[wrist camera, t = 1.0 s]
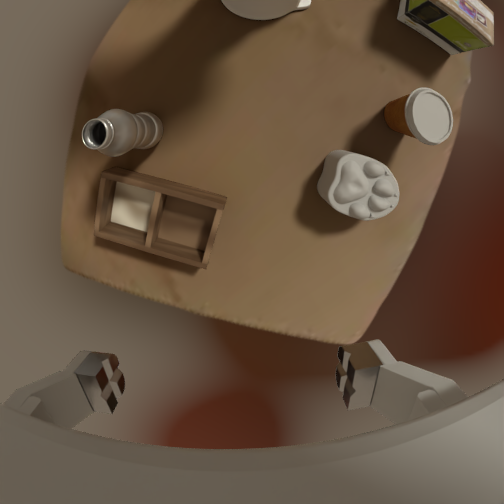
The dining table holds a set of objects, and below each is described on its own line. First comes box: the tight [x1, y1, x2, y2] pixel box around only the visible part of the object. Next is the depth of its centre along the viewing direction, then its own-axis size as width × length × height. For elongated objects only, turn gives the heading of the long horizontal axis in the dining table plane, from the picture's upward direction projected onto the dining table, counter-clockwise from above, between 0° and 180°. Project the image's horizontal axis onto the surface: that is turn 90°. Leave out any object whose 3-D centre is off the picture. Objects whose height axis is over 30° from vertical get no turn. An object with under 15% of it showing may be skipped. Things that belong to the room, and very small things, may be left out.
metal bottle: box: [82, 109, 163, 157], centre depth 35 cm, size 6×7×20 cm
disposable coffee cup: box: [384, 88, 453, 145], centre depth 38 cm, size 10×10×12 cm
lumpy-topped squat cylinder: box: [317, 150, 399, 220], centre depth 45 cm, size 10×13×9 cm
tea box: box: [397, 0, 494, 55], centre depth 27 cm, size 15×10×15 cm, turn 74°
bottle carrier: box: [94, 167, 227, 269], centre depth 48 cm, size 12×22×6 cm, turn 72°
